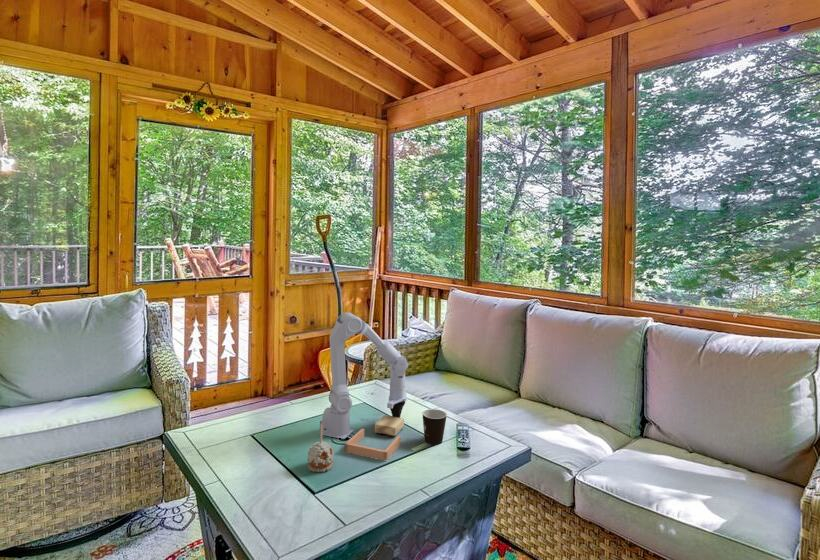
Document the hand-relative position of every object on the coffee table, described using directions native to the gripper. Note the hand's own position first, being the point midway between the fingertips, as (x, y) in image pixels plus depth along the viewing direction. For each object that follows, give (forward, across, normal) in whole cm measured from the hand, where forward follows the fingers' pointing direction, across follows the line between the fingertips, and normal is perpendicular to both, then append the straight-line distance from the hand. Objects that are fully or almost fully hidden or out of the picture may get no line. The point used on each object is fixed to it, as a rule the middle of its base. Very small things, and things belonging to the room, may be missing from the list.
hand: (396, 420), depth 177 cm
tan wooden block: (+2, -7, 0) cm, 7 cm away
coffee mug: (+2, -6, -17) cm, 18 cm away
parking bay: (+2, -21, 0) cm, 21 cm away
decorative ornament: (+2, -39, +10) cm, 40 cm away
